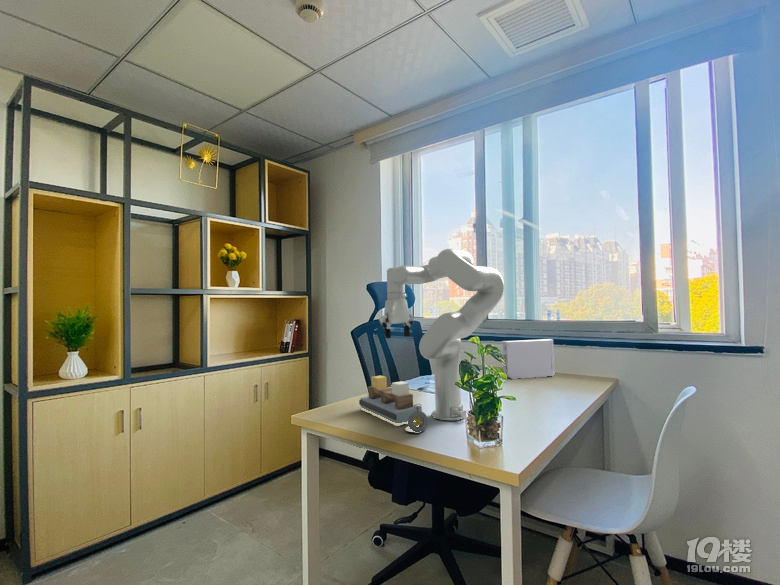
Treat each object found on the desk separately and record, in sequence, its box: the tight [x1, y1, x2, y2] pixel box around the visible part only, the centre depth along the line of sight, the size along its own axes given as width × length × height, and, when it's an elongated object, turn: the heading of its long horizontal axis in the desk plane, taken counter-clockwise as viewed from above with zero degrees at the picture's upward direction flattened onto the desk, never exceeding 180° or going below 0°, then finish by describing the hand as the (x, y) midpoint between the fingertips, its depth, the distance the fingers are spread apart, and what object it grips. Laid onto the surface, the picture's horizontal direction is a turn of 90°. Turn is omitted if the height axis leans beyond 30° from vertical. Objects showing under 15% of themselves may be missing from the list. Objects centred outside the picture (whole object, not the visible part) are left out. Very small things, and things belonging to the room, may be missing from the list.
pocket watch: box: [407, 403, 429, 433], centre depth 127 cm, size 8×8×10 cm
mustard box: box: [370, 375, 388, 389], centre depth 153 cm, size 4×4×4 cm
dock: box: [358, 395, 423, 423], centre depth 146 cm, size 26×12×5 cm, turn 33°
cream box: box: [391, 380, 410, 396], centre depth 141 cm, size 4×4×4 cm
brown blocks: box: [368, 385, 414, 410], centre depth 147 cm, size 22×6×4 cm, turn 33°
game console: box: [502, 338, 555, 380], centre depth 209 cm, size 6×27×20 cm, turn 98°
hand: (397, 337), depth 162 cm, fingers open, 9 cm apart
